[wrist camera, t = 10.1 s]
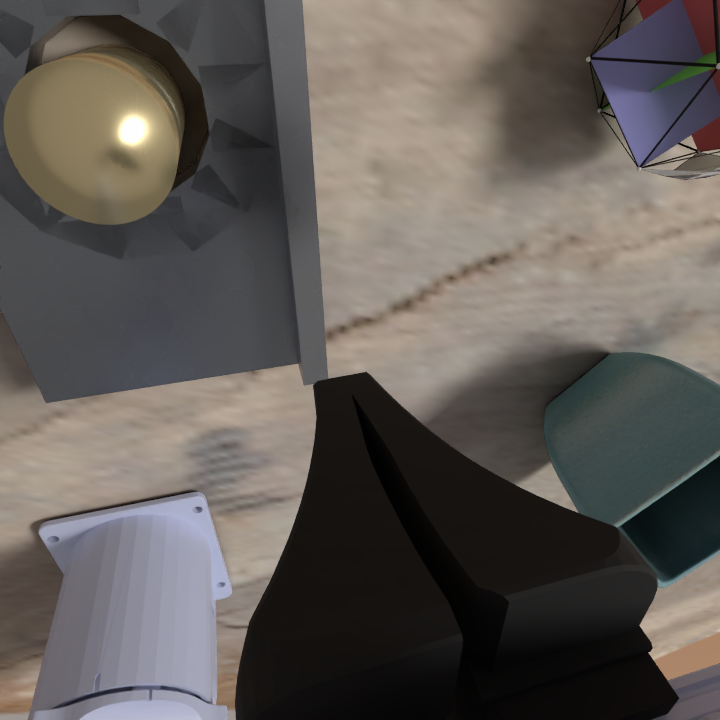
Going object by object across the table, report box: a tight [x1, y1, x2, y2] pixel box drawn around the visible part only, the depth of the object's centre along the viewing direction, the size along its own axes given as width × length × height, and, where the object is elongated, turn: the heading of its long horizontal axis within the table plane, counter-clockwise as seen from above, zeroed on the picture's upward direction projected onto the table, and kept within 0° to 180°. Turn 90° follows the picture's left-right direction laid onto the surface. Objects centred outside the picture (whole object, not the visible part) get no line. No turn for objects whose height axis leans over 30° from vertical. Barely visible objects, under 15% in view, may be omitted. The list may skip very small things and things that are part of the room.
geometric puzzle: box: [586, 0, 720, 180], centre depth 17 cm, size 7×7×8 cm
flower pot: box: [544, 352, 720, 588], centre depth 27 cm, size 9×9×9 cm
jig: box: [0, 0, 328, 403], centre depth 17 cm, size 14×11×3 cm
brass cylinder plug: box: [4, 44, 185, 225], centre depth 14 cm, size 4×4×6 cm
